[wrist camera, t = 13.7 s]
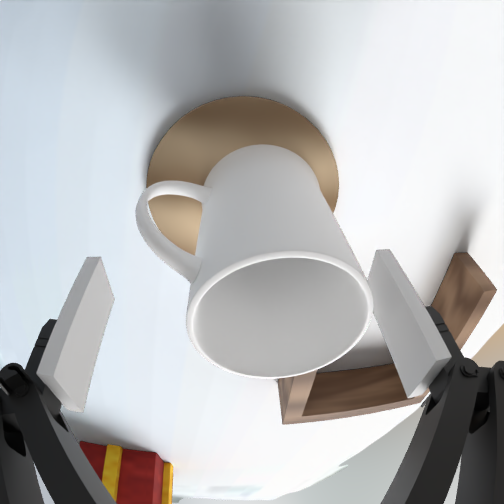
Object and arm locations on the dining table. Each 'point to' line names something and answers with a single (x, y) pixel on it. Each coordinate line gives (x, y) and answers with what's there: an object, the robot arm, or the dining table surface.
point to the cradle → (386, 377)
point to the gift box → (131, 474)
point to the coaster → (221, 144)
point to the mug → (265, 267)
